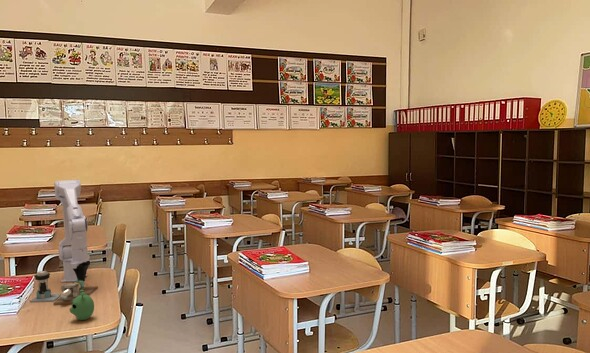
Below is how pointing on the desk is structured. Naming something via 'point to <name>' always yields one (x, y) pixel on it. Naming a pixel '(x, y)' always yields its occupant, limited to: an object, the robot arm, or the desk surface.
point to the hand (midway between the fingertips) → (81, 281)
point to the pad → (51, 298)
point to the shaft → (71, 289)
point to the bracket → (74, 293)
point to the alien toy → (82, 306)
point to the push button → (43, 285)
